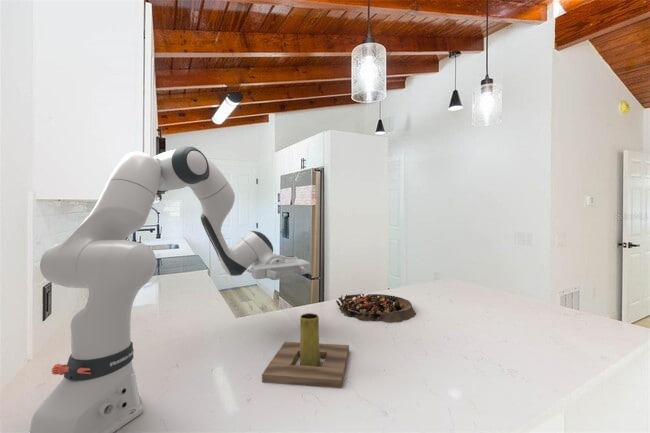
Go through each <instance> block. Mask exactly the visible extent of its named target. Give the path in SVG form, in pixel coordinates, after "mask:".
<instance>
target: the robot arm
mask: <svg viewBox="0 0 650 433" xmlns="http://www.w3.org/2000/svg"><path fill="white" fill-rule="evenodd" d="M186 187H189V188H190V189H191V191H192V192H193V194H194V195H195V198H197V199H198V201H199V202H200V205H201V210H202V211H201V212H202V213H201V215H200V222H201V224H202V227H203V229H204V231H205V233H206V236H207V237H208V239H209V241H210V243H211V245H212V247H213V249H214V251H215V253H216V255H217V257H218V261H220V265H221V268H222V269H223V271H224V272H225V273H226V274H228V275H229V276H231V277H233V276H234V277H237V276H242V275H243V274H244V273H245V272H246V271H247V273H250V274H251V277H252V278H253V279H254V280H262V279H263V280H264V279H270V280H271V281H278V280H280V279H283V278H285V277H288V276H298V275H306V274H309V273H311V263H310V261H308V260H304V259H301V258H298V256H295V255H281V254H276V253H274V246H273V244H272V242H271V240H270V239H269V238H268V237H267V236H266V235H265V234H264V233H262V232H261V231H258V230H251V231H249V232H248V233H246V234H245V235H244V236H243V237H242V238H241V239H239V240H238V241H237V242H236V243H235V244H233V245H232V246H230V247H229V245H228V244H227V243H226V239H225V237H224V235H223V234H222V226H223V224H224V222H225V219H227V217H228V215H229V213H230V212H231V211H232V209H233V206H234V204H235V201H236V200H235V199H236V198H235V197H236V196H235V192H234V189H233V188H232V186H231V183H230V182H229V181H228V180H227V177H225V175H224V174H223V173H222V171H221V170H220V169H219V168H218V167H217V166H216V164H214V163H213V161H211V160H210V159H209V158H207V157H206V156H205V154H204V153H203V152H202V151H201V150H199V149H198V148H196V147H193V146H181V147H178V148H176V149H171V150H168V151H163V152H161V153H158V154H157V155H154V156H153V155H151V154H148V153H146V152H143V151H132V152H128V153H127V154H126V155H124V156H123V158H122V159H121V160H120V162H118V164H117V165H116V166H115V168H114V169H113V171H112V173H111V174H110V176H109V178H108V179H107V181H106V183H105V185H104V188H103V190H102V192H101V193H100V196H99V198H98V199H97V201H96V203H95V204H94V207H93V209H92V210H91V211H90V213H89V214H88V215H87V216H86V217H85V219H83V221H82V222H81V223H80V224H79V225H78V226H77V227H76V228H75V229H73V231H72V232H71V233H69V234H68V235H67V236H66V237H64V239H62V240H61V241H59V242H57V243H55V244H53V245H51V246H50V247H48V248H47V249H46V250H45V251H44V253H43V255H42V257H41V259H40V261H39V262H40V263H39V269H40V272H41V274H42V277H43V278H44V279H45V280H46V281H48V282H50V283H52V284H55V285H57V286H62V287H65V288H70V289H88V297H87V301H86V303H85V306H84V308H82V309H81V310H79V311H77V312H76V313H75V315H74V316H73V318H72V319H71V321H70V342H71V343H70V345H71V348H70V349H71V353H70V355H69V358H68V359H67V360H68V361H67V363H66V364H62V363H61V364H60V363H57V364H54V365H53V366H52V368H51V374H52V375H55V376H56V375H59V376H63V378H62V380H61V381H60V382H59V383H58V384H57V385H56V387H55V388H54V389H53V390H52V391H51V392H50V394H49V395H48V396H47V397H46V398H45V400H43V402H42V404H40V406H39V407H38V408H37V409H36V410H35V411H34V413H33V416H32V418H31V423H30V430H29V431H30V432H29V433H115V432H116V431H118V430H120V429H121V428H122V427H124V426H125V425H126V424H128V423H129V422H131V421H133V420H134V419H135V418H137V417H138V416H140V415H141V414H143V412H144V408H143V405H142V404H141V396H140V393H139V391H138V383H137V378H136V374H135V370H134V366H133V359H134V350H135V349H134V343H133V341H132V340H131V335H132V334H131V316H132V315H131V314H132V309H133V305H134V302H135V299H136V297H137V295H138V294H139V291H140V290H141V289H142V288H143V287H144V286H145V285H146V284H147V283H149V282H150V280H151V279H152V277H154V274H155V272H156V269H157V256H156V254H155V252H154V250H153V248H151V246H149V245H148V244H145V243H141V242H138V241H134V240H129V239H127V238H128V237H129V236H130V235H133V234H135V233H137V232H138V231H139V230H141V229H142V228H143V227H144V225H145V224H146V223H147V219H148V217H149V214H150V212H151V209H152V207H153V204H154V202H155V200H156V199H155V198H156V196H157V193H165V192H168V191H174V190H180V189H185V188H186ZM250 266H251V268H250ZM248 268H249V269H248Z"/></svg>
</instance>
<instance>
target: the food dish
mask: <svg viewBox="0 0 650 433" xmlns="http://www.w3.org/2000/svg"><path fill="white" fill-rule="evenodd" d="M343 296H344V295H341V297H337V298H338V300H337V299H336V301H335V303H336V305H337V306H338V307H339V308H338V310H340V313H341V314H343V316H344V317H347V318H355V319H356V320H358V321H362V322H381V323H385V324H386V323H388V324H393V323H394V324H395V323H397V324H398V323H399V324H400V323H402V322H404V321H408V320H411V319H413V318H415V316H416V315H417V312H416V311H415V310H414V308H413V306H412V303H411V301H410V300H408V299H405V298H402V297H399V296H395V295H388V294H381V293H380V294H378V293H373V294H371V293H370V294H369V293H368V294H366V295H365V294H364V293H362V294H361V293H358V294H345V296H344V299H343Z"/></svg>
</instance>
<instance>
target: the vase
mask: <svg viewBox="0 0 650 433" xmlns="http://www.w3.org/2000/svg"><path fill="white" fill-rule="evenodd" d="M299 320H300V321H299V322H300V328H299V329H300V334H299V336H300V337H299V339H300V341H299V342H300V357H299V365H300V366H315V367H321V364H322V363H321V359H320V350H319V343H320V335H319V334H320V333H319V332H320V331H319V330H320V327H319V326H320V324H319V320H320V319H319V315H318V314H316V313H314V312H313V313H312V312H309V313H303V314H301V315H300V319H299Z"/></svg>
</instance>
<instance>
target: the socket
mask: <svg viewBox="0 0 650 433" xmlns="http://www.w3.org/2000/svg"><path fill="white" fill-rule="evenodd" d="M319 350H320V360H322V359H323V360H324V361H323V364H322V366H319V367H315V366H300V364H298V365H297V364H296V363H297V360H298V359H299V358H300V341H299V342H296V341H284V342H283V344H282V345H281V347H279V350H278V351H277V352H276V353H275V355H274V356H273V358H272V359H271V360H270V362H269V363H268V365H267V367H266V368H265V369H264V370H263V372H262V373H261V382H262V383H272V384H273V383H274V384H284V385H285V384H286V385H298V386H309V387H310V386H312V387H322V388H323V387H325V388H335V389H336V388H338V389H342V387H343V382H344V379H345V378H344V377H345V373H346V368H347V364H348V359H349V355H350V344H337V343H334V344H333V343H320V342H319Z"/></svg>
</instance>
